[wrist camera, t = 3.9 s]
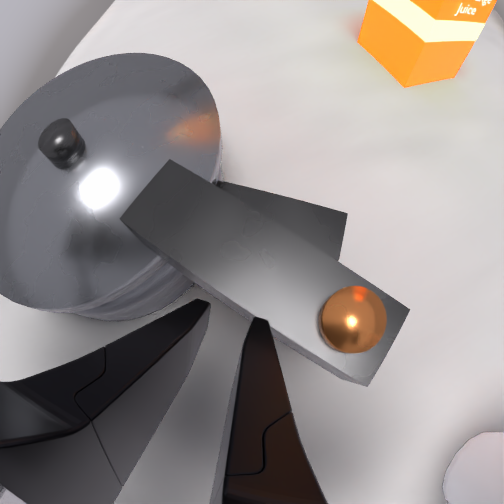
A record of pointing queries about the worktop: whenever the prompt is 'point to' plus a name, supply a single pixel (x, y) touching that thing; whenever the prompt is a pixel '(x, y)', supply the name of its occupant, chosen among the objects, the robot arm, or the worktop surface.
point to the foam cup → (477, 471)
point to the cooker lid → (164, 215)
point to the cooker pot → (271, 205)
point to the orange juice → (422, 36)
